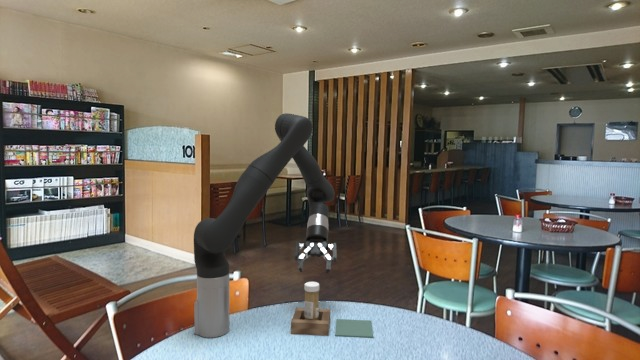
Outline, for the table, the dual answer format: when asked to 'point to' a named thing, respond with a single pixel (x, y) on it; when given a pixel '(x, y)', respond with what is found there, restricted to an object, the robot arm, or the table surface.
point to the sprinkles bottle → (311, 301)
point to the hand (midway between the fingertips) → (314, 271)
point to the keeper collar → (310, 323)
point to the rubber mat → (354, 328)
